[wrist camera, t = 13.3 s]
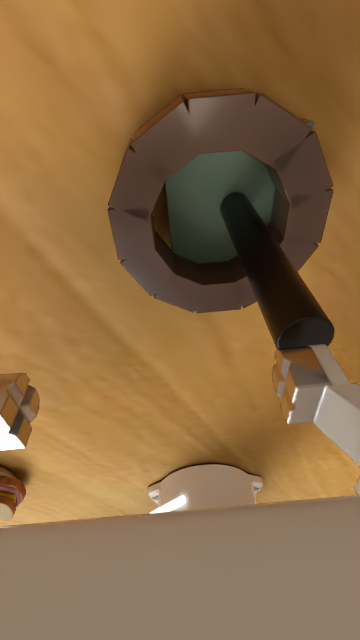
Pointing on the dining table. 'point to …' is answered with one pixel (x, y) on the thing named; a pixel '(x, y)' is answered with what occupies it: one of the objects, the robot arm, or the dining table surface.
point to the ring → (212, 137)
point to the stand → (243, 239)
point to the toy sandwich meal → (9, 494)
